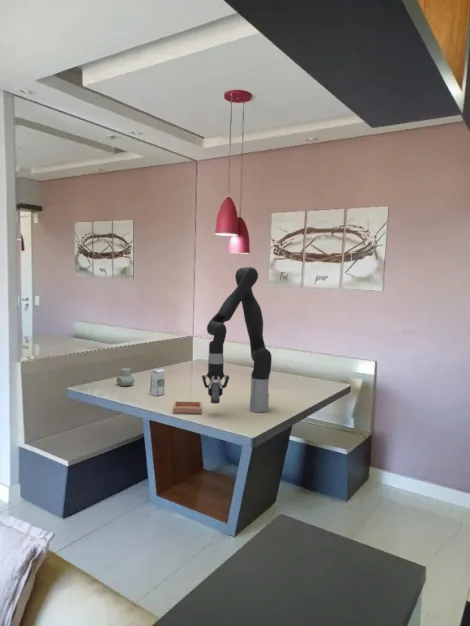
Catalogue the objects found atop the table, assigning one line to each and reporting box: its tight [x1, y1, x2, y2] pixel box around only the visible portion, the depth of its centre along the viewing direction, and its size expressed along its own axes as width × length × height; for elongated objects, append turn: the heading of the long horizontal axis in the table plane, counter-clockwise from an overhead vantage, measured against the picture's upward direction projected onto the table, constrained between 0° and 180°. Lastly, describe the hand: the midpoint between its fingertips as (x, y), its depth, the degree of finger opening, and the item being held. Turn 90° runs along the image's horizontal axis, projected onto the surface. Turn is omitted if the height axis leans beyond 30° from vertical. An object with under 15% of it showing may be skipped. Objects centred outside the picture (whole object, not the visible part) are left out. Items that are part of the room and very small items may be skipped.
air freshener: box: [116, 367, 135, 387], centre depth 284 cm, size 11×8×10 cm
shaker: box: [210, 379, 221, 404], centre depth 232 cm, size 5×5×12 cm
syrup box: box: [149, 368, 166, 397], centre depth 265 cm, size 6×6×14 cm
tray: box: [172, 400, 203, 415], centre depth 238 cm, size 14×12×3 cm
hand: (215, 395), depth 232 cm, fingers closed on shaker, 4 cm apart
